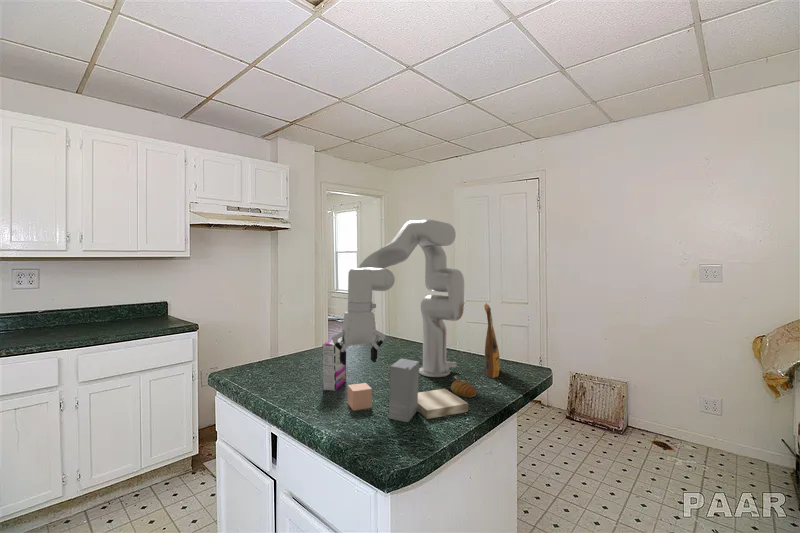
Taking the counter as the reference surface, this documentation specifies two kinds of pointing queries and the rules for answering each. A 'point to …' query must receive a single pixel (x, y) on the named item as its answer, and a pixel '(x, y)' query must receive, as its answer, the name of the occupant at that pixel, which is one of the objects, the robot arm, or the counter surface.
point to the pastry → (463, 389)
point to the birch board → (440, 403)
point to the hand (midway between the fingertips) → (358, 362)
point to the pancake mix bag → (491, 348)
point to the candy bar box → (332, 367)
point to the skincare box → (403, 389)
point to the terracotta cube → (359, 396)
